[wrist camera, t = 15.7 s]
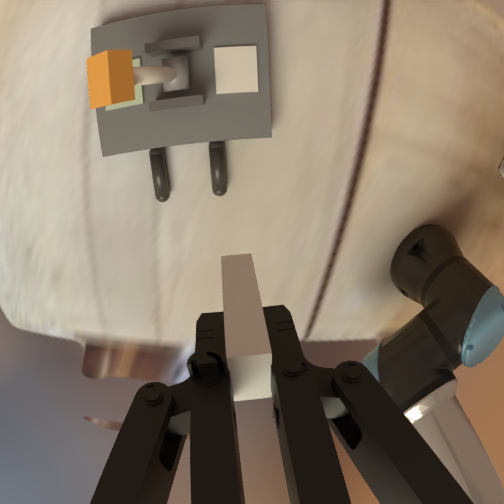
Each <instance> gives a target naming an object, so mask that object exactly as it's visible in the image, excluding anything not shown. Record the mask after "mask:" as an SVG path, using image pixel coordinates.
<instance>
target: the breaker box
mask: <svg viewBox="0 0 504 504" xmlns="http://www.w3.org/2000/svg"><path fill="white" fill-rule="evenodd" d="M106 50H132V62H133V67H141V66H162V59H164V58H169V57H175V56H188V70H189V85H190V89H185V90H177V91H169V92H164V87H163V83H158V84H147V85H137V86H134V89H135V100H132V101H127V102H122V103H118V104H113V105H108V106H103V107H99V108H96V113H97V121H98V129H99V136H100V142H101V149H102V155H103V157H105V156H110V155H116V154H121V153H127V152H133V151H139V150H146V149H150V152H149V155H150V162H151V169H152V176H153V183H154V189H155V195H156V198H157V200H158V201H160V202H165V201H167V200H168V198H169V196H170V193H169V186H168V179H167V171H166V164H165V156H164V150H163V148H162V147H167V146H175V145H183V144H192V143H201V142H210V143H209V156H210V168H211V179H212V190H213V193H214V194H215V195H217V196H222V195H224V194H225V193H226V191H227V181H226V167H225V153H224V144H223V142H222V141H223V140H236V139H252V138H272V131H271V101H270V75H269V53H268V32H267V14H266V4H237V5H218V6H205V7H195V8H186V9H179V10H172V11H165V12H159V13H154V14H148V15H143V16H138V17H134V18H129V19H125V20H121V21H117V22H113V23H109V24H106V25H102V26H98V27H95V28H92V29H91V52H92V56H94V55H96V54H99V53H101V52H104V51H106Z"/></svg>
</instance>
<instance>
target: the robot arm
mask: <svg viewBox="0 0 504 504" xmlns="http://www.w3.org/2000/svg"><path fill="white" fill-rule="evenodd" d="M221 264H222V288H223V309H224V312H213V313H202V314H201V315H200V317H199V319H198V320H197V322H196V344H195V353H193V354H192V355H191V356H190V358H189V359H188V362H187V367H188V371H189V374H190V377H189V378H188V379H186V380H185V381H183V382H181V383H179V384H176V385H172V386H169V387H167V386H166V385H165V384H163V383H160V382H151V383H147V384H145V385H144V386H142V387H141V388H140V389H139V390H138V392H137V393H136V395H135V397H134V399H133V402H132V404H131V406H130V409H129V411H128V413H127V416H126V418H125V420H124V422H123V424H122V427H121V429H120V431H119V434H118V436H117V439H116V441H115V443H114V446H113V448H112V451H111V453H110V455H109V458H108V460H107V463H106V465H105V467H104V470H103V472H102V475H101V477H100V480H99V482H98V485H97V487H96V490H95V493H94V495H93V498H92V500H91V503H90V504H167V501H168V498H169V494H170V491H171V487H172V484H173V480H174V477H175V474H176V470H177V467H178V464H179V460H180V457H181V453H182V450H183V446H184V443H185V440H186V437H187V434H188V433H190V469H191V470H190V471H191V504H245V498H244V489H243V481H242V472H241V463H240V453H239V443H238V434H237V423H236V413H235V408H234V401H241V400H251V399H260V398H269V397H272V398H273V418H275V423H276V428H277V434H278V439H279V444H280V450H281V456H282V461H283V467H284V472H285V478H286V483H287V488H288V494H289V499H290V504H351V502H350V498H349V494H348V491H347V488H346V484H345V480H344V476H343V473H342V469H341V466H340V463H339V459H338V455H337V452H336V449H335V445H334V442H333V438H332V435H331V432H330V428H329V425H330V427H331V428H332V430H333V431H334V433H335V435H336V436H337V438H338V439H339V441H340V442H341V444H342V446H343V447H344V449H345V450H346V452H347V453H348V455H349V456H350V458H351V460H352V461H353V463H354V464H355V466H356V467H357V469H358V470H359V472H360V474H361V475H362V477H363V478H364V480H365V481H366V483H367V484H368V486H369V487H370V489H371V490H372V492H373V494H374V495H375V497H376V498H377V499H378V501H379V503H380V504H504V488H503V486H502V483H501V481H500V479H499V477H498V475H497V473H496V471H495V468H494V466H493V464H492V462H491V460H490V458H489V456H488V454H487V452H486V450H485V448H484V446H483V444H482V442H481V441H480V439H479V437H478V435H477V433H476V431H475V429H474V428H473V426H472V424H471V422H470V420H469V418H468V417H467V415H466V413H465V412H464V410H463V408H462V406H461V404H460V403H459V401H458V399H457V398H456V395H455V391H456V386H457V382H458V380H457V379H456V377H455V376H454V374H453V371H454V370H455V369H456V368H457V367H458V366H460V365H461V364H462V363H463V365H464V366H467V367H474V366H476V365H477V364H478V363H481V362H482V361H484V360H485V359H486V358H487V357H488V356H489V355H490V354H491V353H492V352H493V351H494V349H495V348H496V347H497V346H498V344H499V342H500V341H501V340H502V338H503V336H504V296H503V294H502V293H501V292H500V290H499V288H498V287H497V286H495V285H493V284H492V283H491V282H490V281H489V280H488V279H487V278H486V277H485V276H484V275H483V274H482V273H481V272H480V271H479V270H478V269H477V268H475V267H474V266H473V265H472V264H471V263H470V262H469V261H468V260H467V259H466V258H465V257H464V256H463V254H462V252H461V250H460V248H459V247H458V245H457V243H456V240H455V238H454V237H453V236H452V234H451V233H450V232H448V231H447V230H446V229H445V228H443V227H442V226H439V225H434V224H431V225H426V226H423V227H420V228H418V229H417V230H415V231H413V232H412V233H411V234H410V235H409V236H407V237H406V238H405V240H404V241H403V242H402V243H401V245H400V246H399V247H398V249H397V251H396V253H395V255H394V257H393V260H392V264H391V278H392V281H393V283H394V285H395V286H396V287H397V289H398V290H399V291H400V292H401V293H402V294H403V295H405V296H406V297H409V298H410V299H412V300H414V301H415V302H417V303H419V304H421V305H422V306H423V307H424V309H423V310H422V311H421V312H420V313H419V314H418V315H416V316H415V317H414V318H413V319H411V320H410V321H409V322H408V323H407V324H405V325H404V326H403V327H402V328H400V329H399V330H398V331H396V332H395V333H394V334H393V335H391V336H390V337H389V338H387V339H386V340H385V341H383V342H380V343H379V344H378V346H377V347H376V348H375V349H374V350H372V351H371V352H370V353H369V354H367V355H366V356H365V358H364V360H363V362H362V363H359V362H356V361H346V362H342V363H340V364H339V365H337V367H336V368H335V369H332V368H322V367H317V366H315V365H312V364H311V363H310V362H308V361H307V360H306V359H305V357H304V355H303V352H302V349H301V345H300V342H299V339H298V336H297V332H296V330H295V326H294V323H293V319H292V316H291V313H290V311H289V310H288V309H287V308H286V307H285V306H284V305H277V306H268V307H262V303H261V298H260V293H259V289H258V284H257V279H256V274H255V269H254V264H253V260H252V255H251V254H241V255H230V256H221ZM425 325H426V326H425ZM427 328H428V329H427ZM430 332H431V333H430ZM432 335H433V336H432ZM434 338H435V339H434ZM436 341H437V342H436ZM450 362H451V363H450ZM328 423H329V425H328Z"/></svg>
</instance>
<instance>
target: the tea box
mask: <svg viewBox="0 0 504 504" xmlns="http://www.w3.org/2000/svg"><path fill="white" fill-rule="evenodd" d="M498 170H499V172H500V173H501V175H502V177H503V178H504V159H503V161H502V163H501V165H500V167H499V169H498Z"/></svg>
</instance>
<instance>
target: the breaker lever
mask: <svg viewBox="0 0 504 504" xmlns="http://www.w3.org/2000/svg"><path fill="white" fill-rule="evenodd" d="M87 73H88V86H89V97H90V106H91V109H94V108H99V107H103V106H108V105H113V104H118V103H122V102H127V101H132V100H135V89H134V86H137V85H147V84H158V83H163V87H164V92H169V91H177V90H185V89H190V85H189V70H188V56H175V57H169V58H164V59H162V66H141V67H133V62H132V50H106V51H104V52H101V53H99V54H96V55H94V56H92V57H90V58H87Z"/></svg>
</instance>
